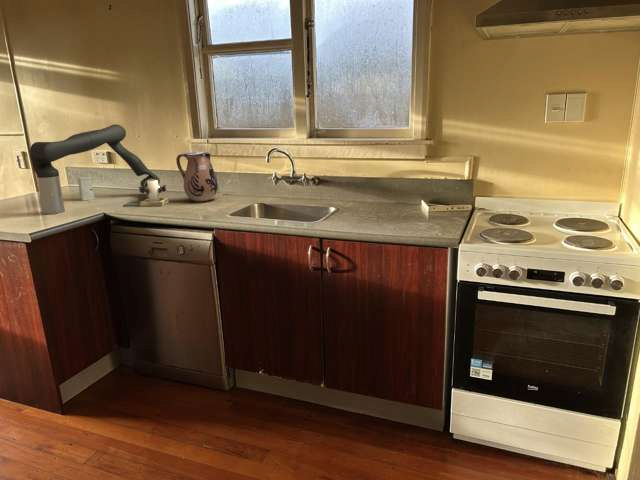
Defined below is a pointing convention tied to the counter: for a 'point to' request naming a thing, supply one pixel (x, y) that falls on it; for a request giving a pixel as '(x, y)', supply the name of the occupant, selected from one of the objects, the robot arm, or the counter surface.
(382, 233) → the counter surface
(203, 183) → the ceramic pitcher
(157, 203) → the dispenser tray
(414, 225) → the counter surface
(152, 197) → the white pillar candle
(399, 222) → the counter surface
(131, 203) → the tear pad
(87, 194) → the skincare box
